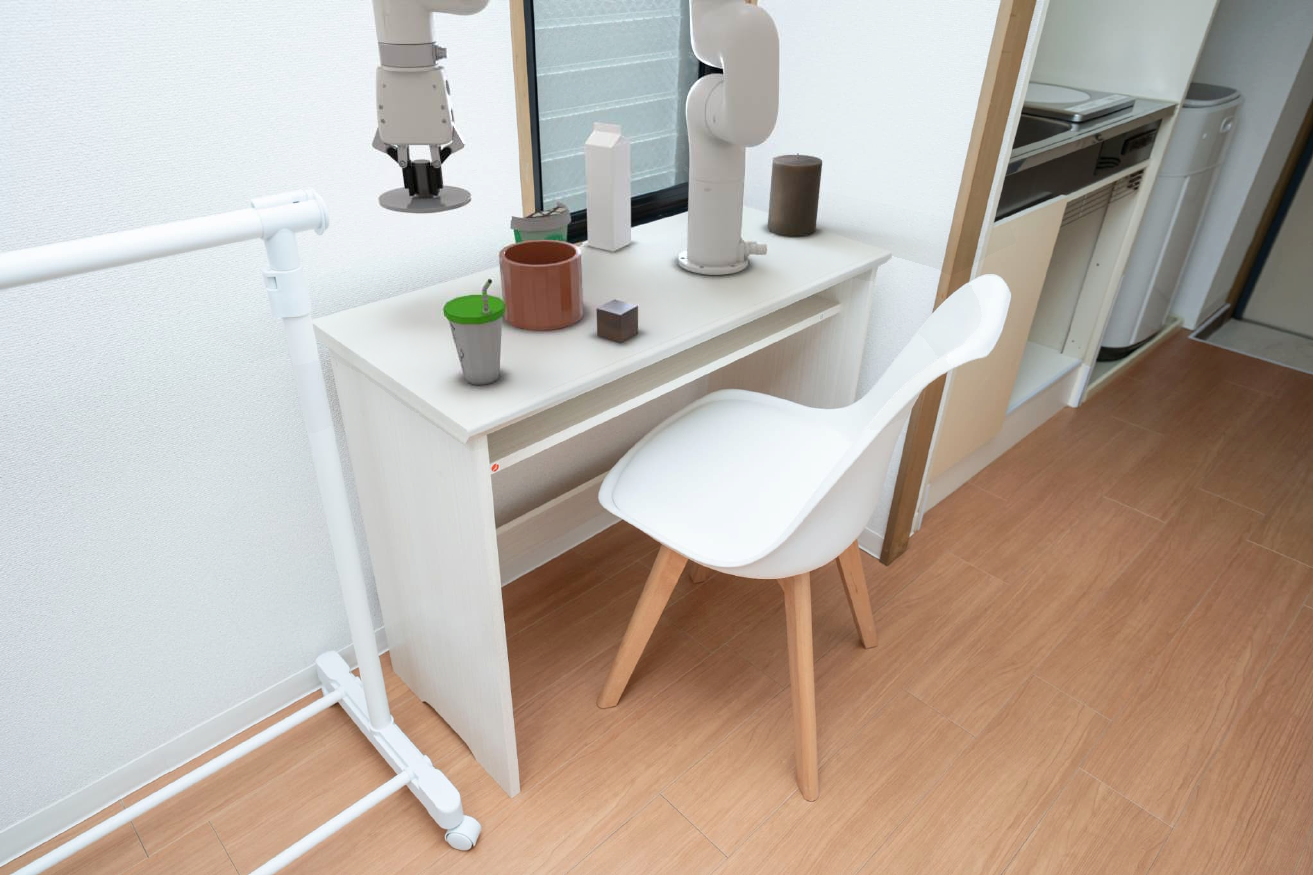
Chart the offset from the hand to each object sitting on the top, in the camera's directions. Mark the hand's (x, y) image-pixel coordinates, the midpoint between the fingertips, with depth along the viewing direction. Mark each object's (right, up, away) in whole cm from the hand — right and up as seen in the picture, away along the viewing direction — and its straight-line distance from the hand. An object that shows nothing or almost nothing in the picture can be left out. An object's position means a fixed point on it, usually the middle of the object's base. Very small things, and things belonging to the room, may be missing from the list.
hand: (424, 192), depth 124 cm
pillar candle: (+61, +6, +47) cm, 77 cm away
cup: (+10, -28, -10) cm, 31 cm away
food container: (+15, -6, +27) cm, 31 cm away
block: (+28, -20, +2) cm, 35 cm away
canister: (+16, -17, +9) cm, 25 cm away
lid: (0, -1, +1) cm, 1 cm away
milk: (+25, +1, +38) cm, 45 cm away
